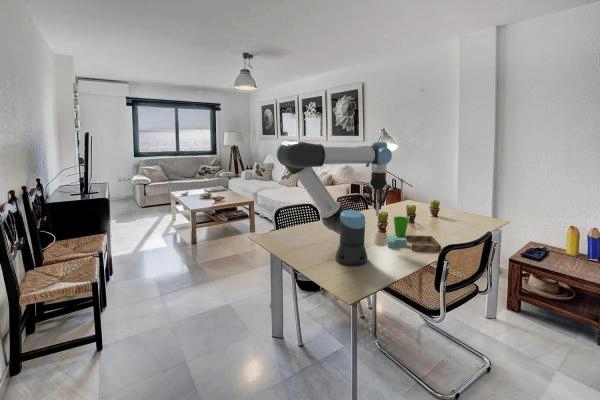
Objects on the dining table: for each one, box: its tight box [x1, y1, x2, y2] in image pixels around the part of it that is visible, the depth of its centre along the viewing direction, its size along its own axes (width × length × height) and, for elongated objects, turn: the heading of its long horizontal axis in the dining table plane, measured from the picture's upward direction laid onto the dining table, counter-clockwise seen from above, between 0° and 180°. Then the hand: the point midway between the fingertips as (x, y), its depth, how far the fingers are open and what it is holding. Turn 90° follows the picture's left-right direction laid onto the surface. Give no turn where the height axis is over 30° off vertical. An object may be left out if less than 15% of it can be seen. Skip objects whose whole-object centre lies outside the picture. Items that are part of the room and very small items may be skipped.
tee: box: [385, 235, 408, 249], centre depth 177 cm, size 10×10×4 cm
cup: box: [393, 215, 410, 238], centre depth 191 cm, size 9×9×11 cm
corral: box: [405, 234, 442, 253], centre depth 176 cm, size 14×16×3 cm
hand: (377, 215), depth 175 cm, fingers closed
